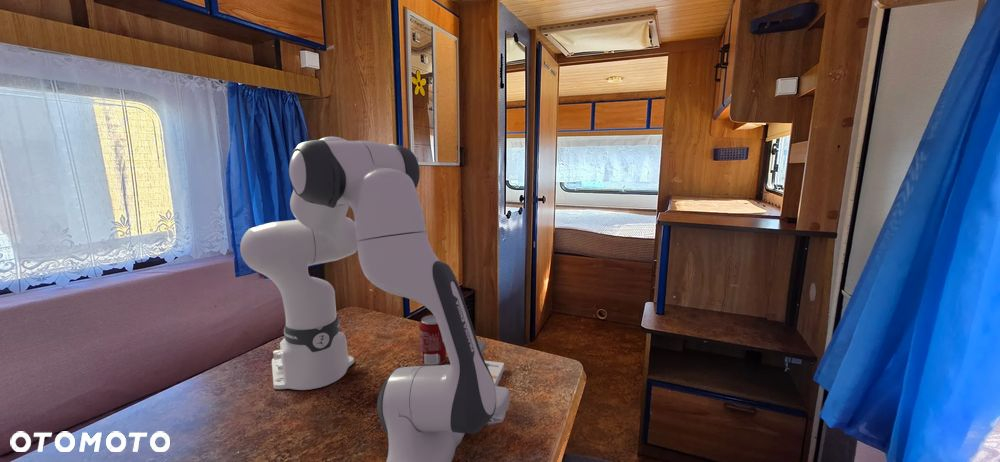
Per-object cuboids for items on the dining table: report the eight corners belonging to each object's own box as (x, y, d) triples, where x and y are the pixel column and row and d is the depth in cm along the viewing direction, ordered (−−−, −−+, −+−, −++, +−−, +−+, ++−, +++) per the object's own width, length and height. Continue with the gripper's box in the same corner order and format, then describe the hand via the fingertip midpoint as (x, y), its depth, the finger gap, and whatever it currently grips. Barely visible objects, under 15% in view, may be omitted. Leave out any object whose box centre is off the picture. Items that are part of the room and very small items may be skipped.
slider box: (476, 433, 77) (476, 423, 77) (438, 426, 79) (438, 416, 79) (504, 370, 100) (504, 362, 100) (474, 366, 102) (474, 358, 102)
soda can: (440, 369, 100) (439, 325, 98) (415, 366, 102) (414, 323, 99) (449, 356, 107) (448, 315, 104) (425, 354, 108) (424, 313, 106)
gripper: (501, 409, 69) (517, 369, 82) (395, 392, 73) (426, 356, 87) (501, 441, 70) (516, 396, 83) (396, 422, 75) (426, 382, 88)
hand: (469, 375), depth 85 cm, fingers closed, pressing on slider knob
